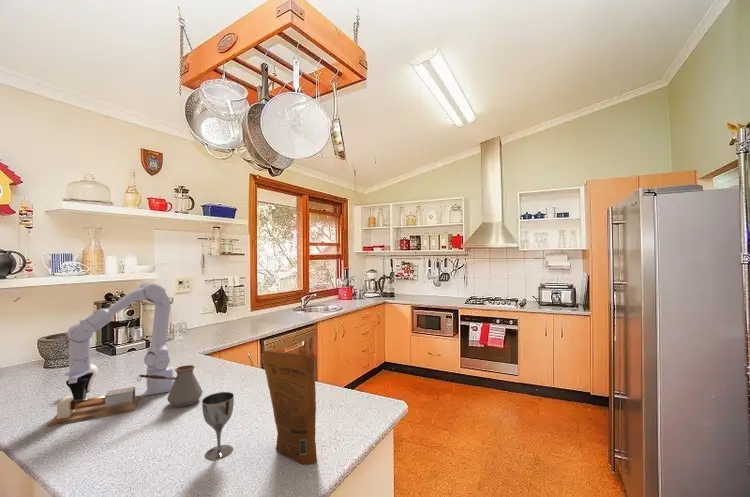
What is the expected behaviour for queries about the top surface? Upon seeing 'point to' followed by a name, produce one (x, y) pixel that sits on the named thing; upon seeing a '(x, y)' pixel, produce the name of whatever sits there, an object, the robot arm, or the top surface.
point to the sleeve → (120, 397)
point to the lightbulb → (94, 370)
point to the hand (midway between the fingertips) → (80, 397)
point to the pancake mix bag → (293, 403)
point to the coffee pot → (182, 386)
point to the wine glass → (218, 420)
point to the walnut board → (93, 413)
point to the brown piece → (87, 402)
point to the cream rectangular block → (65, 407)
